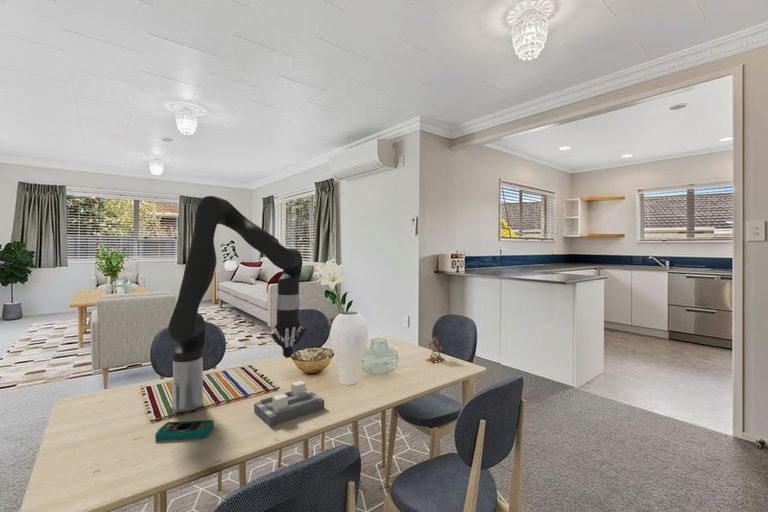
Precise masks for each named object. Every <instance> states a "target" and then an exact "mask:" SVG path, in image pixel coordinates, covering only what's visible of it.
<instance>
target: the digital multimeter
mask: <svg viewBox="0 0 768 512" xmlns="http://www.w3.org/2000/svg"><path fill="white" fill-rule="evenodd" d="M214 423H215V421H214V420H213V419H202V420H186V421H182V420H181V421H167V422H166V423H164V424H163V425H162V426H160V427H159V429H157V431H156V433H154V434H155V441H160V442H161V441H169V440H171V441H172V440H187V439H188V440H189V439H193V440H194V439H206V438H207V437H208V436H209V434H210V433H211V432H212V431H213V428H214V427H215V425H214Z"/></svg>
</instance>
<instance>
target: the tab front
mask: <svg viewBox="0 0 768 512" xmlns="http://www.w3.org/2000/svg"><path fill="white" fill-rule="evenodd" d="M284 393H285V392H283V394H282V393H279V394H280V395H278V394H275V395H276V396H275V395H272V396H273V397H272V409H274V410H275V411H277V410H280V409H283V408H286V407H288V396H287V395H285V394H284Z"/></svg>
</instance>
